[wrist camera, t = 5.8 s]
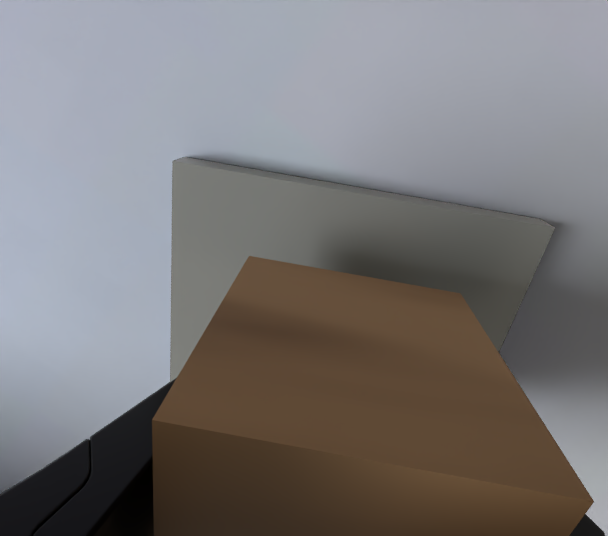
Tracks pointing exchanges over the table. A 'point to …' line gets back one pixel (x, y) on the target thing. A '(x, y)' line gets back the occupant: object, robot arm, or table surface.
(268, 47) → the table surface
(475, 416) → the walnut cube
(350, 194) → the plate
